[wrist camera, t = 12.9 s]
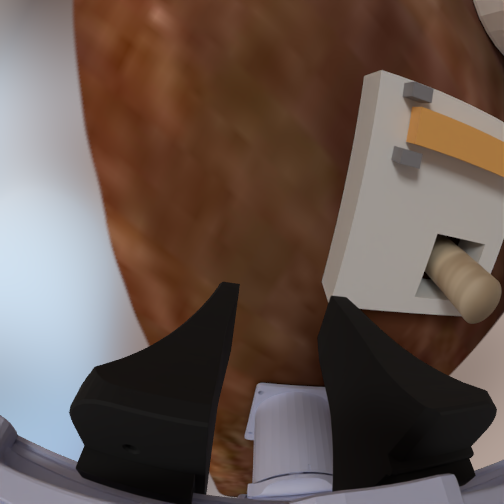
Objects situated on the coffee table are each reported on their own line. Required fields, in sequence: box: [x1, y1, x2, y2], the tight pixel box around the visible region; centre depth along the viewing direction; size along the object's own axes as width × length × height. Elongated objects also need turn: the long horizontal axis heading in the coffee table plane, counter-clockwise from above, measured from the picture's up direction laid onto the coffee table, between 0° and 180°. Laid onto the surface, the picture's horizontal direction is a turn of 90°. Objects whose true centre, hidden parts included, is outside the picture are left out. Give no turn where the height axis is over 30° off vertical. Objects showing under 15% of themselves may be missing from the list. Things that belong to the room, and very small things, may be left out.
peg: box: [425, 234, 501, 324], centre depth 17 cm, size 3×3×7 cm
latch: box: [406, 107, 504, 177], centre depth 14 cm, size 2×8×1 cm, turn 82°
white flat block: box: [322, 70, 504, 316], centre depth 17 cm, size 14×12×4 cm
